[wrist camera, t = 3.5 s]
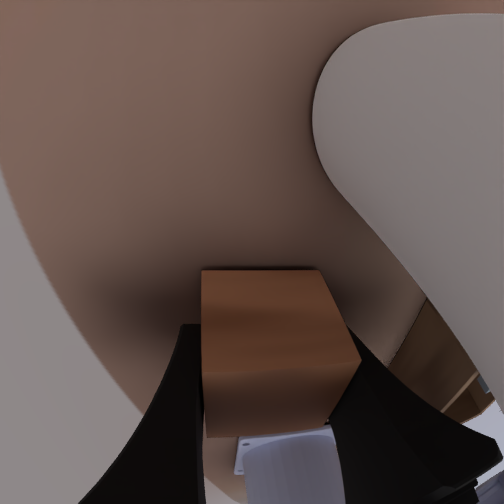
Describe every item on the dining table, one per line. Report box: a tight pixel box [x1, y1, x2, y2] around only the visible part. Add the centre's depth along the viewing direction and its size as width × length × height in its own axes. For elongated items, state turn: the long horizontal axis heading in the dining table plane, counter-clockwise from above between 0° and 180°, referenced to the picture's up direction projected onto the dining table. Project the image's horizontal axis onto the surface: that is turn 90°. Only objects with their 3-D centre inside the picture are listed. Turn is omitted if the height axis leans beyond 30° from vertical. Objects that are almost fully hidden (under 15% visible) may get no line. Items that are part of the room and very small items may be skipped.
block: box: [201, 270, 362, 438], centre depth 10 cm, size 4×4×4 cm
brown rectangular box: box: [388, 298, 495, 424], centre depth 12 cm, size 14×8×5 cm, turn 175°
